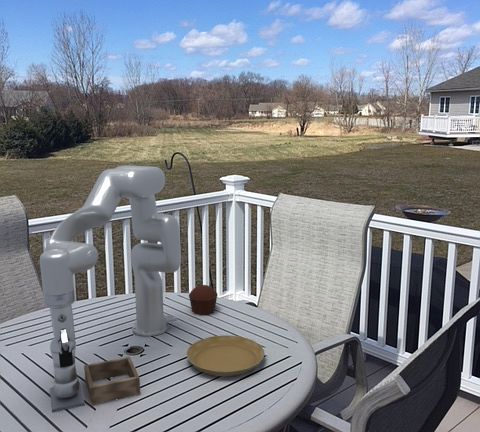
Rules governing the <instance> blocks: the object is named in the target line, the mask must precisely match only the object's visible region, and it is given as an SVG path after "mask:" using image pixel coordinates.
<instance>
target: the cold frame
mask: <svg viewBox="0 0 480 432" xmlns="http://www.w3.org/2000/svg"><path fill="white" fill-rule="evenodd" d="M83 369H84V379H85V380H84V381H85V382H84V383H85V385H86V390H87V395H88V399H89V402H90V403H89V404H90V406H96V405H100V404H104V403H108V401H109V402H114V401H117V400H116V399H118V400H122V399H126V397H127V398H130V396H131V397H135V395H136V396H139V395H141V382H140V381H141V379H140V376H139V373H138V371H137V369H136V367H135V365H134V362H133V360H132V358H131V356H125V357H120V358H115V359H110V360H109V359H108V360H105V361H101V362H99V361H98V362H95V363H90V364H85V365H83ZM126 375H127V376H128V377H127V378H123V379H119V380H113V381H109V382H104V383H100V384H99V383H98V384H93V382H97V381H103V380H107V378H108V379H111V377H113V378H117V377H122V376H126ZM116 376H117V377H116ZM113 400H114V401H113Z"/></svg>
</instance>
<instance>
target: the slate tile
mask: <svg viewBox="0 0 480 432" xmlns="http://www.w3.org/2000/svg"><path fill="white" fill-rule="evenodd" d="M49 394H50V405H51V412H52V413H55V412H61V411H63V410H69V409H73V408H77V407H82V406H85V398H84V394H83V389H82V385H81V381H79V390H78V392H77V393H76V394H75V395H74V396H72V397H70V398H66V399H61V398H58V397H57V396H56V395H55V392H54V386H53V387H49Z"/></svg>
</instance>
